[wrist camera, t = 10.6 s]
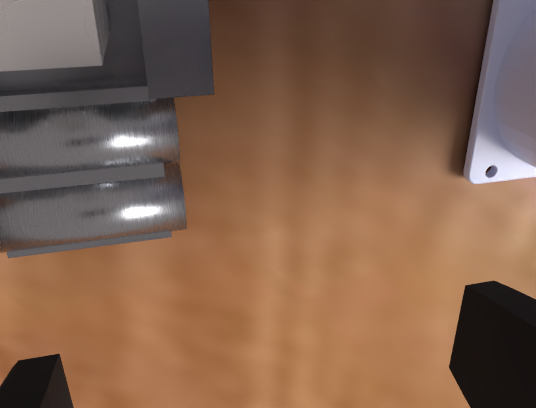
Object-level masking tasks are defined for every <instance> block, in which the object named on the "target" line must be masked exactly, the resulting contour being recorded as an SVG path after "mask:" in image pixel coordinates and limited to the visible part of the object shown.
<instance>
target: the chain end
mask: <svg viewBox="0 0 536 408" xmlns="http://www.w3.org/2000/svg"><path fill="white" fill-rule="evenodd" d="M108 7H109V14H110V21H111V27H110V32H109V36H108V41H107V46H106V50H105V55H104V60H103V64H102V66H86V67H69V68H52V69H35V70H18V71H1V72H0V253H3V252H7V255H8V258H13V257H21V256H28V255H36V254H44V253H52V252H59V251H67V250H75V249H83V248H90V247H98V246H106V245H113V244H121V243H129V242H137V241H144V240H152V239H160V238H168V237H172V235H171V231H177V230H185V229H187V222H186V210H185V201H184V192H183V184H182V177H181V171H180V166H179V163H172V162H180V149H179V137H178V128H177V119H176V111H175V104H174V98H173V97H186V96H199V95H213V94H214V86H213V69H212V53H211V36H210V19H209V3H208V0H108ZM163 163H170V164H163Z"/></svg>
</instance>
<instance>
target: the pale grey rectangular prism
mask: <svg viewBox="0 0 536 408" xmlns="http://www.w3.org/2000/svg"><path fill="white" fill-rule="evenodd" d="M110 27H111V21H110V14H109V7H108V0H0V72H1V71H18V70H35V69H52V68H69V67H86V66H102V64H103V60H104V55H105V50H106V46H107V41H108V36H109V32H110Z"/></svg>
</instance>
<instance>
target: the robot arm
mask: <svg viewBox="0 0 536 408" xmlns="http://www.w3.org/2000/svg"><path fill="white" fill-rule="evenodd" d="M489 166H491V169H490V171H489V172H488V173H485V172H486V170H487V168H488V167H489ZM464 177H465V179H467V180H468V181H470V182H471V183H473V184H482V183H490V182H498V181H506V180H515V179H523V178H531V177H536V0H493V6H492V12H491V17H490V23H489V29H488V34H487V40H486V46H485V51H484V57H483V63H482V69H481V74H480V80H479V86H478V91H477V97H476V103H475V109H474V114H473V120H472V126H471V131H470V137H469V143H468V148H467V154H466V160H465V166H464ZM449 368H450V370H451V372H452V374H453V376H454V378H455V380H456V382H457V384H458V386H459V387H460V389H461V391H462V393H463V395H464V397H465V399H466V400H467V402H468V404H469V406H470V407H471V408H536V299H534V298H532V297H529V296H527V295H525V294H523V293H521V292H519V291H517V290H515V289H512V288H510V287H508V286H506V285H503V284H501V283H499V282H496V281H489V282H483V283H477V284H471V285H465V290H464V295H463V300H462V305H461V310H460V315H459V320H458V325H457V330H456V335H455V340H454V345H453V350H452V355H451V360H450V365H449ZM0 408H73V404H72V400H71V396H70V392H69V388H68V385H67V381H66V377H65V373H64V369H63V365H62V361H61V358H60V354H55V355H49V356H43V357H37V358H31V359H25V360H19V361H18V362H17V363H16V364H15V365H14V366H13V367H12V369H11V371H10V372H9V374H8V375H7V377H6V378H5V380H4V381H3V383H2V384H1V386H0Z"/></svg>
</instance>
